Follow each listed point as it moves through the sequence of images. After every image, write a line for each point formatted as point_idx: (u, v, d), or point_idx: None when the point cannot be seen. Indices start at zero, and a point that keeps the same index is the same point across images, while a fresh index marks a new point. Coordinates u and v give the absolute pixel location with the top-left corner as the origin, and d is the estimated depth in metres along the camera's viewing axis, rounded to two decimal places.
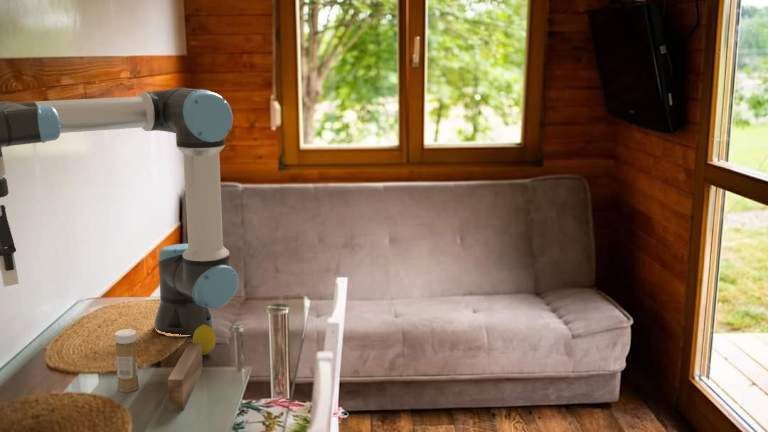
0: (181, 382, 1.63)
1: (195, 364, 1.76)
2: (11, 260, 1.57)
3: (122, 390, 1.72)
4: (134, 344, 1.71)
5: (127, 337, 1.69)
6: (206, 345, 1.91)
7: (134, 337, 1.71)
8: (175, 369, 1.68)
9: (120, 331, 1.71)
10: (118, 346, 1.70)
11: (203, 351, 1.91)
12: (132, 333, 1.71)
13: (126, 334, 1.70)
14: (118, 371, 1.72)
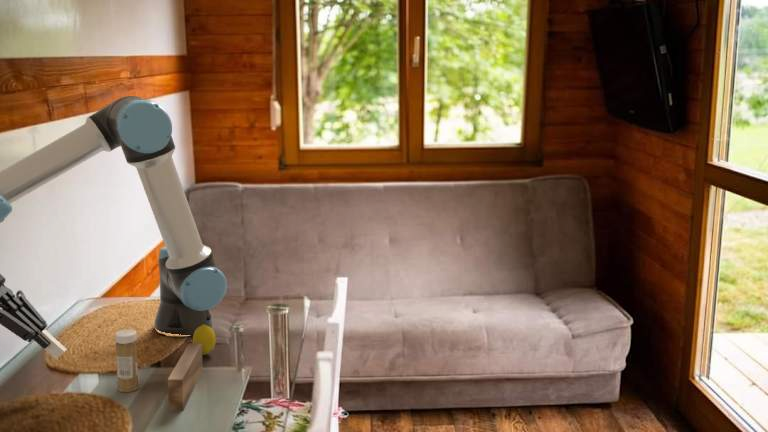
0: (181, 382, 1.63)
1: (195, 364, 1.76)
2: (41, 339, 1.69)
3: (122, 390, 1.72)
4: (134, 344, 1.71)
5: (127, 337, 1.69)
6: (206, 345, 1.91)
7: (134, 337, 1.71)
8: (175, 369, 1.68)
9: (120, 331, 1.71)
10: (118, 346, 1.70)
11: (203, 351, 1.91)
12: (132, 333, 1.71)
13: (126, 334, 1.70)
14: (118, 371, 1.72)
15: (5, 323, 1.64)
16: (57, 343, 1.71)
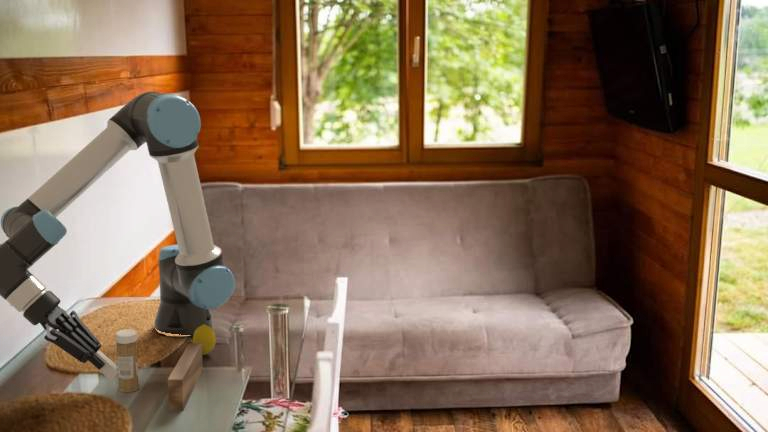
0: (181, 382, 1.63)
1: (195, 364, 1.76)
2: (96, 360, 1.70)
3: (122, 390, 1.72)
4: (135, 344, 1.71)
5: (128, 337, 1.69)
6: (206, 345, 1.91)
7: (135, 337, 1.71)
8: (175, 369, 1.68)
9: (120, 331, 1.71)
10: (119, 346, 1.70)
11: (203, 351, 1.91)
12: (133, 333, 1.71)
13: (127, 334, 1.70)
14: (119, 371, 1.72)
15: (61, 344, 1.66)
16: (111, 363, 1.72)
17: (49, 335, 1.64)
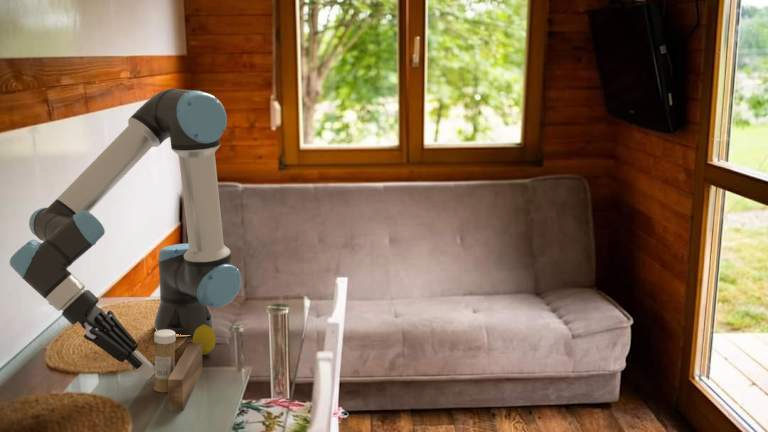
0: (181, 382, 1.63)
1: (195, 364, 1.76)
2: (133, 359, 1.70)
3: (159, 390, 1.72)
4: (173, 345, 1.72)
5: (167, 338, 1.70)
6: (206, 345, 1.91)
7: (174, 338, 1.71)
8: (175, 369, 1.68)
9: (159, 331, 1.72)
10: (157, 346, 1.70)
11: (203, 351, 1.91)
12: (172, 334, 1.71)
13: (166, 334, 1.70)
14: (156, 371, 1.72)
15: (100, 344, 1.66)
16: (148, 363, 1.72)
17: (89, 334, 1.64)
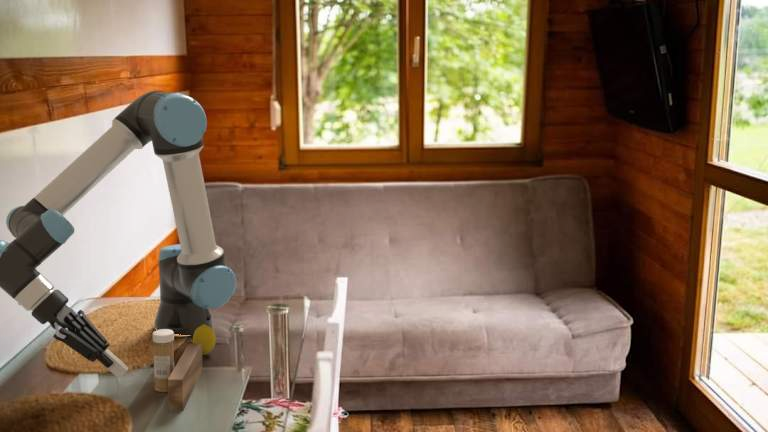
0: (181, 382, 1.63)
1: (195, 364, 1.76)
2: (104, 359, 1.70)
3: (159, 390, 1.72)
4: (171, 344, 1.72)
5: (165, 337, 1.70)
6: (206, 345, 1.91)
7: (172, 337, 1.71)
8: (175, 369, 1.68)
9: (157, 331, 1.72)
10: (156, 345, 1.71)
11: (203, 351, 1.91)
12: (170, 333, 1.71)
13: (164, 333, 1.71)
14: (155, 371, 1.72)
15: (70, 343, 1.66)
16: (120, 362, 1.72)
17: (58, 334, 1.64)
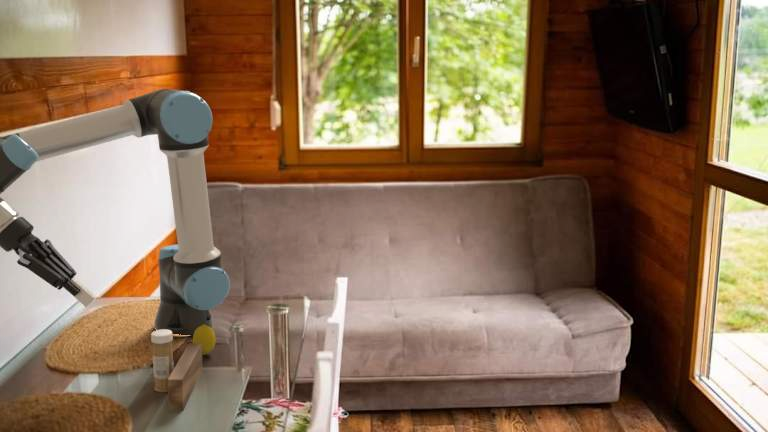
0: (181, 382, 1.63)
1: (195, 364, 1.76)
2: (71, 286, 1.68)
3: (159, 390, 1.72)
4: (170, 344, 1.72)
5: (163, 337, 1.70)
6: (206, 345, 1.91)
7: (170, 337, 1.71)
8: (175, 369, 1.68)
9: (156, 331, 1.72)
10: (154, 346, 1.71)
11: (203, 351, 1.91)
12: (168, 333, 1.71)
13: (162, 334, 1.70)
14: (155, 371, 1.72)
15: (35, 269, 1.63)
16: (87, 290, 1.70)
17: (22, 259, 1.62)
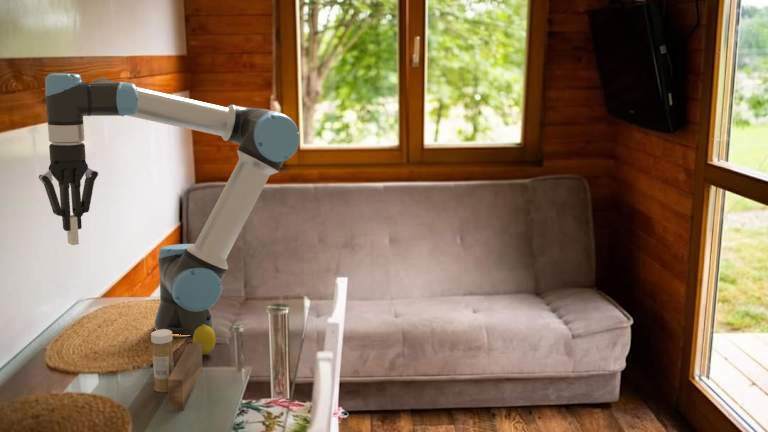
0: (181, 382, 1.63)
1: (195, 364, 1.76)
2: (64, 222, 1.79)
3: (159, 390, 1.72)
4: (170, 344, 1.72)
5: (163, 337, 1.70)
6: (206, 345, 1.91)
7: (170, 337, 1.71)
8: (175, 369, 1.68)
9: (156, 331, 1.72)
10: (154, 346, 1.70)
11: (203, 351, 1.91)
12: (168, 333, 1.71)
13: (162, 334, 1.70)
14: (154, 371, 1.72)
15: (47, 191, 1.76)
16: (74, 235, 1.80)
17: (40, 178, 1.74)
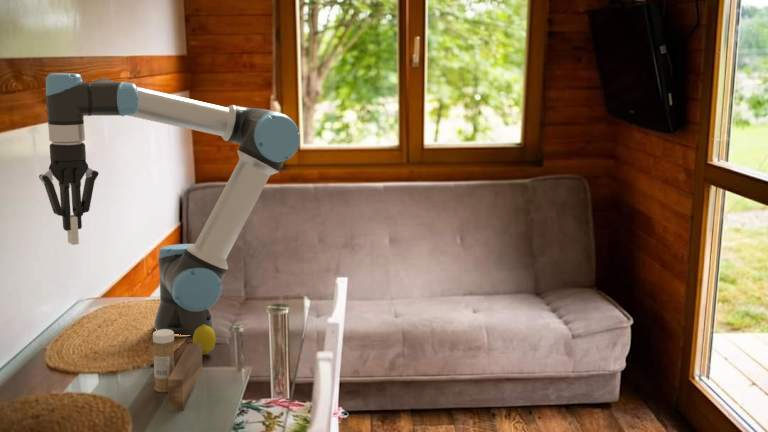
0: (181, 382, 1.63)
1: (195, 364, 1.76)
2: (64, 222, 1.79)
3: (159, 390, 1.72)
4: (171, 344, 1.72)
5: (165, 337, 1.70)
6: (206, 345, 1.91)
7: (172, 337, 1.71)
8: (175, 369, 1.68)
9: (158, 331, 1.72)
10: (156, 346, 1.71)
11: (203, 351, 1.91)
12: (170, 333, 1.71)
13: (164, 334, 1.70)
14: (155, 371, 1.72)
15: (47, 190, 1.76)
16: (74, 234, 1.80)
17: (41, 177, 1.74)
